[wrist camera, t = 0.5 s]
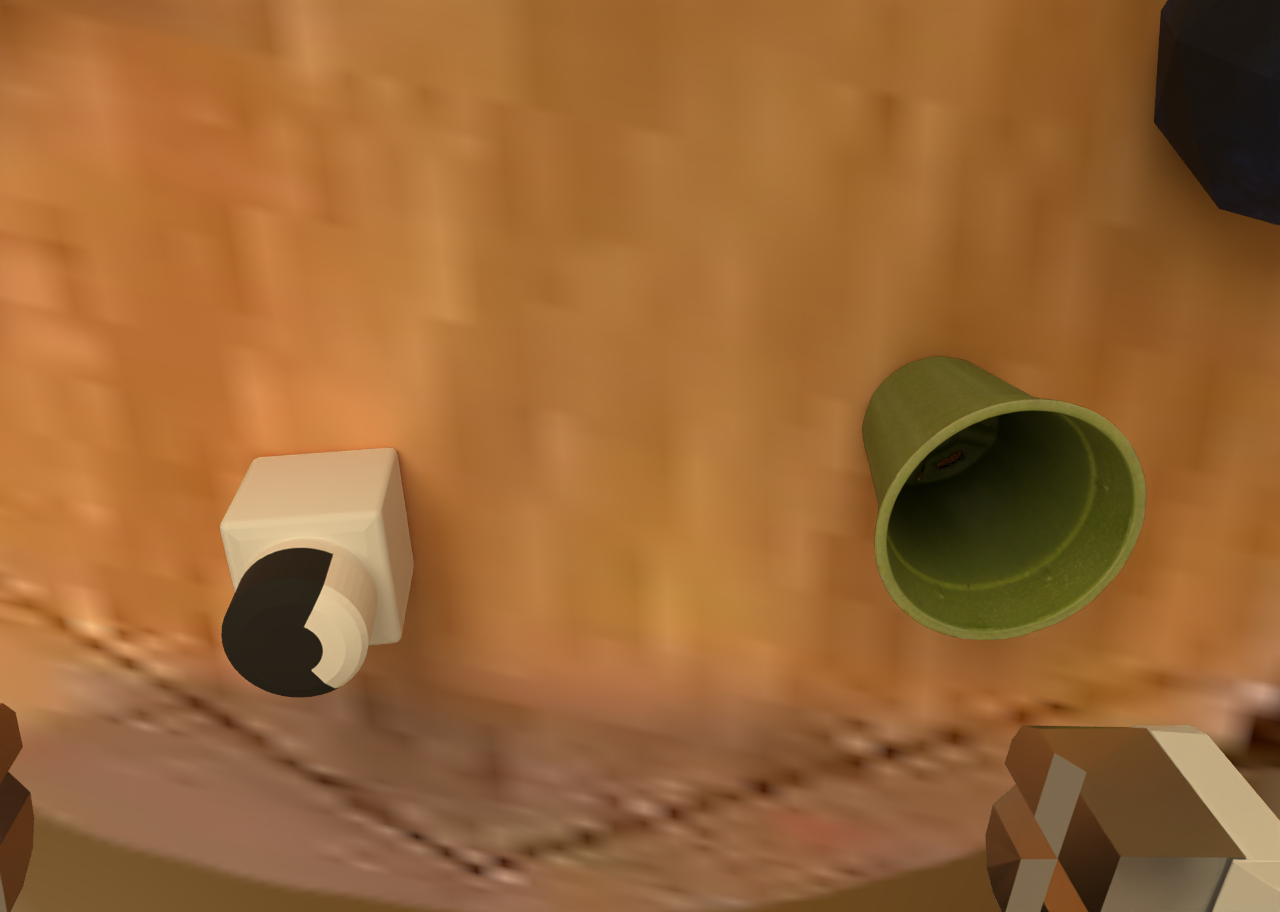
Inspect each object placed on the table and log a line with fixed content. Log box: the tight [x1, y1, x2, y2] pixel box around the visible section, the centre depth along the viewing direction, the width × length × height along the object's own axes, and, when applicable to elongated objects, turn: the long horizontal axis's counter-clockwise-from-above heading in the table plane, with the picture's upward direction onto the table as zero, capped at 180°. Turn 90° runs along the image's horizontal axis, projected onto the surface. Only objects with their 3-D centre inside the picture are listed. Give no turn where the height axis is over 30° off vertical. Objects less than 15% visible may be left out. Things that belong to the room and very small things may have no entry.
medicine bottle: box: [220, 447, 414, 697], centre depth 53 cm, size 7×7×12 cm
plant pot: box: [862, 356, 1146, 640], centre depth 54 cm, size 12×12×11 cm
